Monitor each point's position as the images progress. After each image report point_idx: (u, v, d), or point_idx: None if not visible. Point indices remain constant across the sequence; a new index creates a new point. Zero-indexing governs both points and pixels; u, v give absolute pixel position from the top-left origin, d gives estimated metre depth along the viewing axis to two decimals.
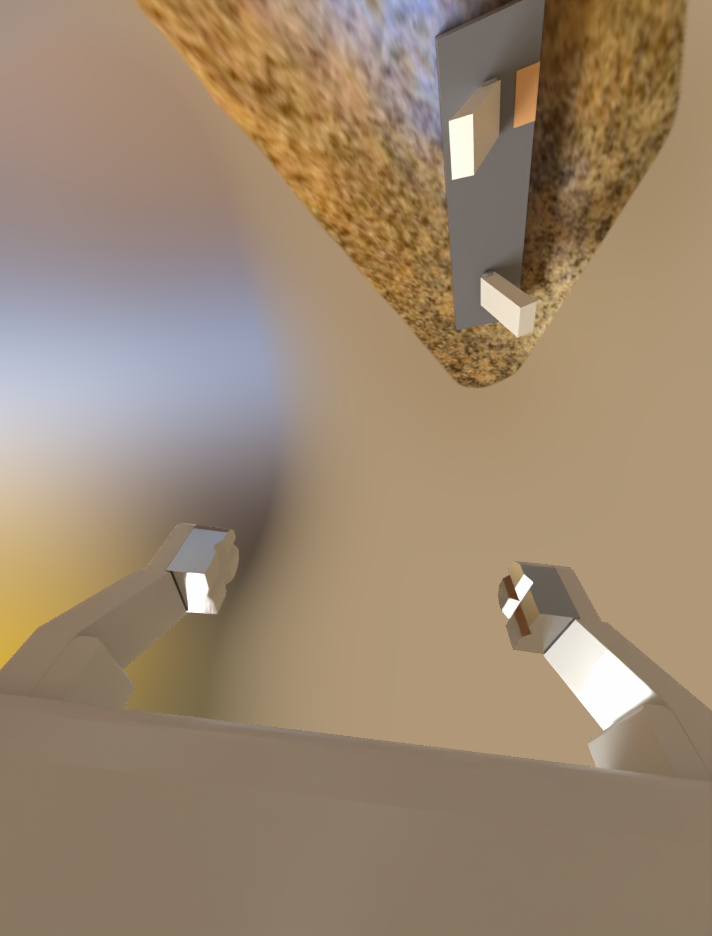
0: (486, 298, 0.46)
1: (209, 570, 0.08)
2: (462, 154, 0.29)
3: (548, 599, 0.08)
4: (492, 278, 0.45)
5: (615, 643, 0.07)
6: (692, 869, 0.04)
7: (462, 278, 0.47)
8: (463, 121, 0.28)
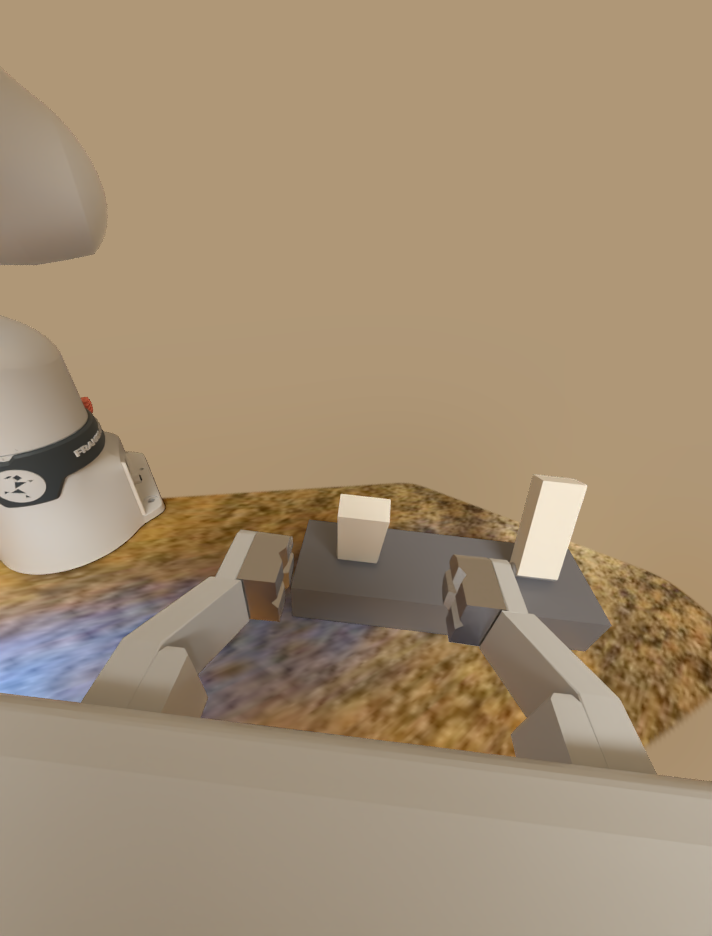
0: (544, 564, 0.32)
1: (277, 578, 0.08)
2: (369, 507, 0.26)
3: (478, 591, 0.08)
4: (516, 557, 0.33)
5: (537, 634, 0.07)
6: (692, 869, 0.04)
7: None
8: (343, 502, 0.26)
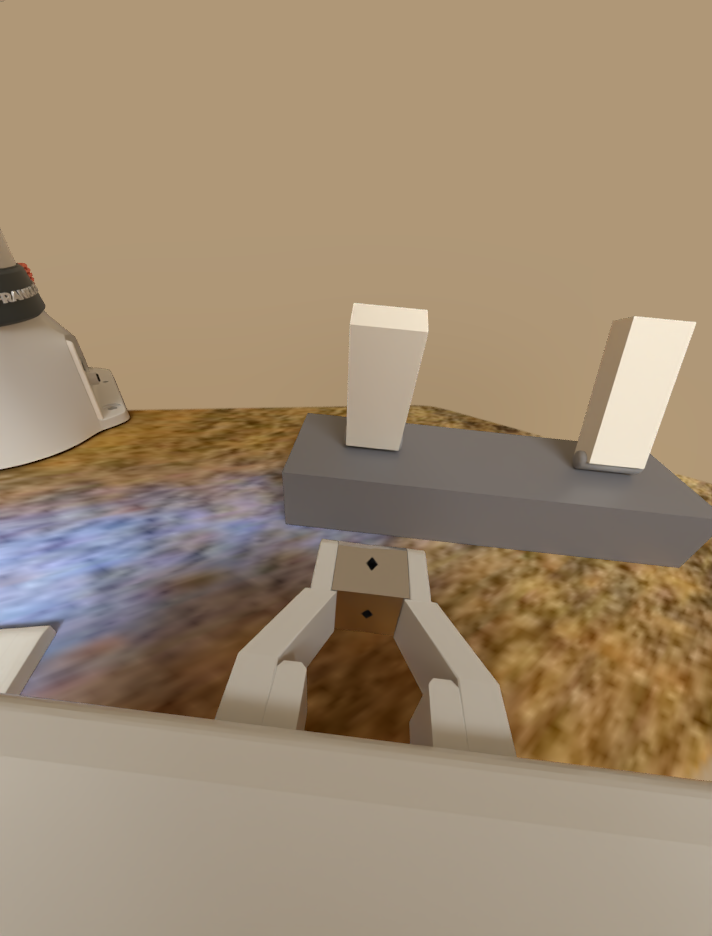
0: (627, 445, 0.24)
1: (370, 589, 0.08)
2: (397, 317, 0.17)
3: (385, 580, 0.08)
4: (587, 441, 0.25)
5: (433, 621, 0.07)
6: (692, 869, 0.04)
7: (598, 495, 0.23)
8: (357, 311, 0.17)
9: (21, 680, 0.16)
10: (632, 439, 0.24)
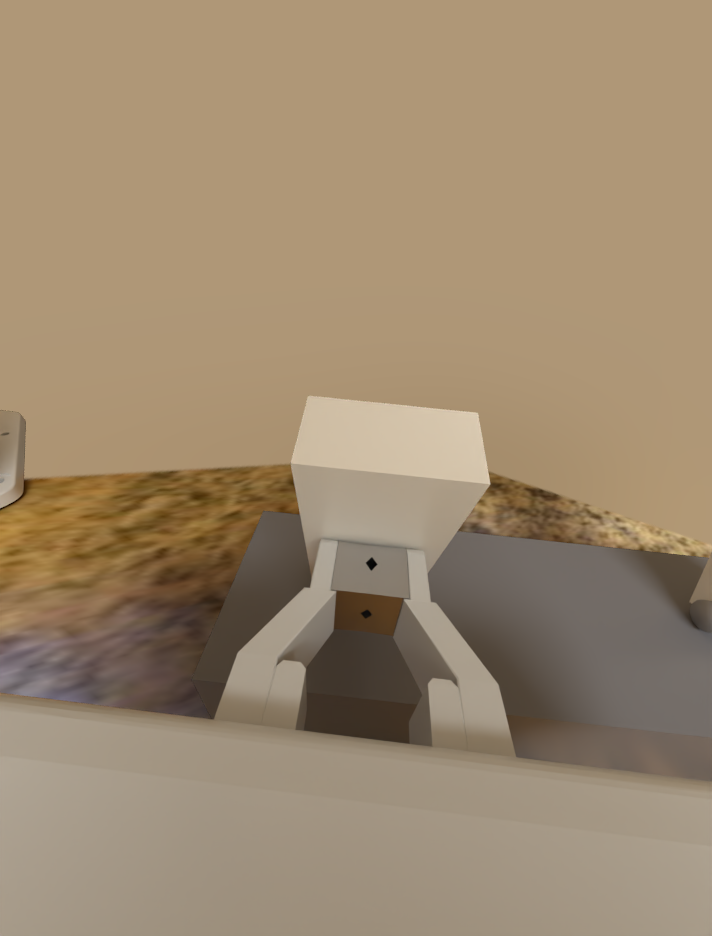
0: None
1: (369, 589, 0.08)
2: (409, 435, 0.07)
3: (385, 580, 0.08)
4: None
5: (433, 622, 0.07)
6: (692, 869, 0.04)
7: None
8: (314, 420, 0.07)
9: None
10: None
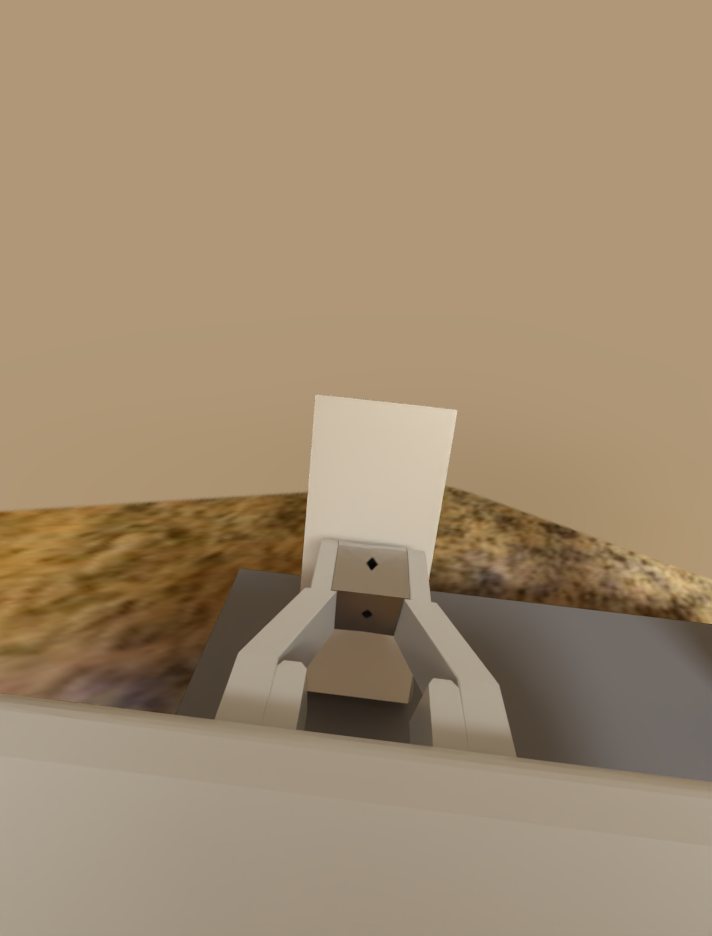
0: None
1: (370, 589, 0.08)
2: None
3: (385, 580, 0.08)
4: None
5: (433, 621, 0.07)
6: (692, 869, 0.04)
7: None
8: None
9: None
10: None
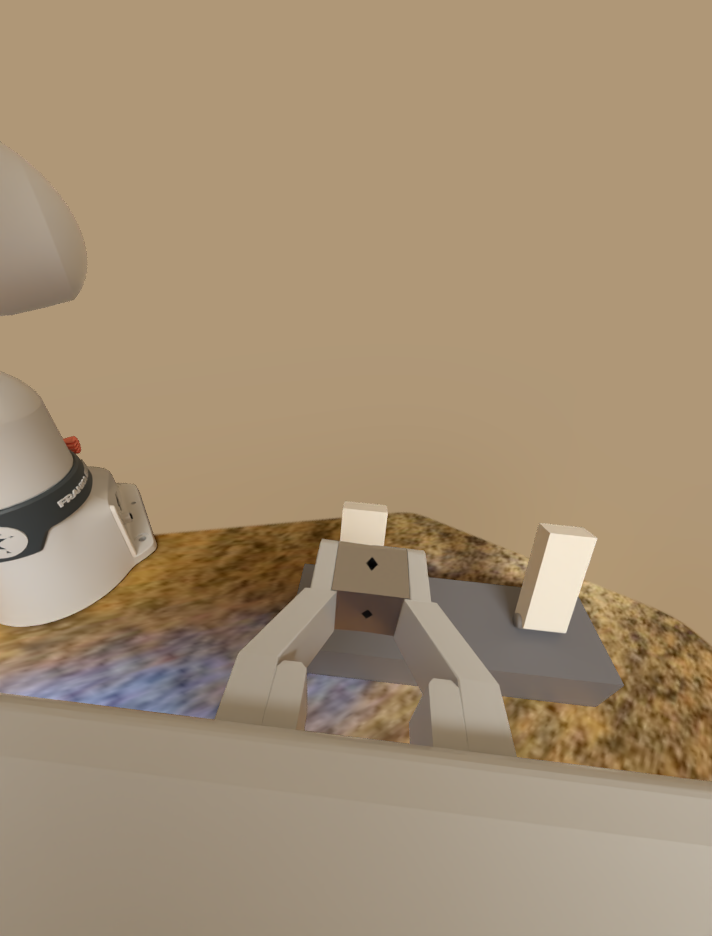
0: (552, 617, 0.31)
1: (370, 589, 0.08)
2: (369, 507, 0.30)
3: (385, 580, 0.08)
4: (522, 608, 0.32)
5: (433, 621, 0.07)
6: (692, 869, 0.04)
7: (528, 659, 0.30)
8: (347, 504, 0.31)
9: None
10: (555, 613, 0.31)
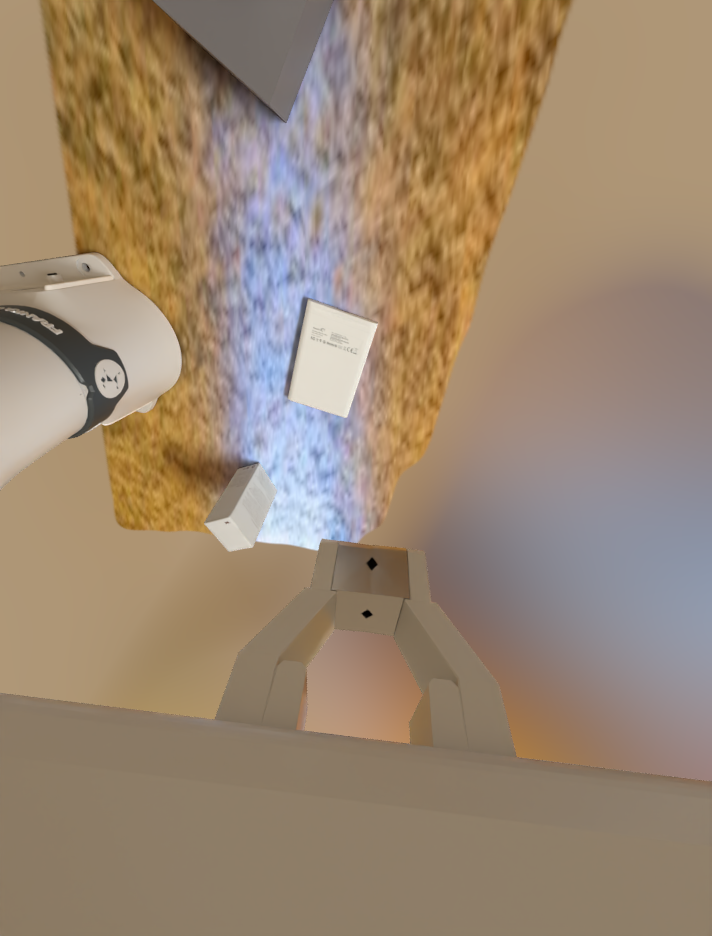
0: None
1: (370, 589, 0.08)
2: None
3: (385, 580, 0.08)
4: None
5: (434, 622, 0.07)
6: (692, 869, 0.04)
7: None
8: None
9: (330, 306, 0.37)
10: None
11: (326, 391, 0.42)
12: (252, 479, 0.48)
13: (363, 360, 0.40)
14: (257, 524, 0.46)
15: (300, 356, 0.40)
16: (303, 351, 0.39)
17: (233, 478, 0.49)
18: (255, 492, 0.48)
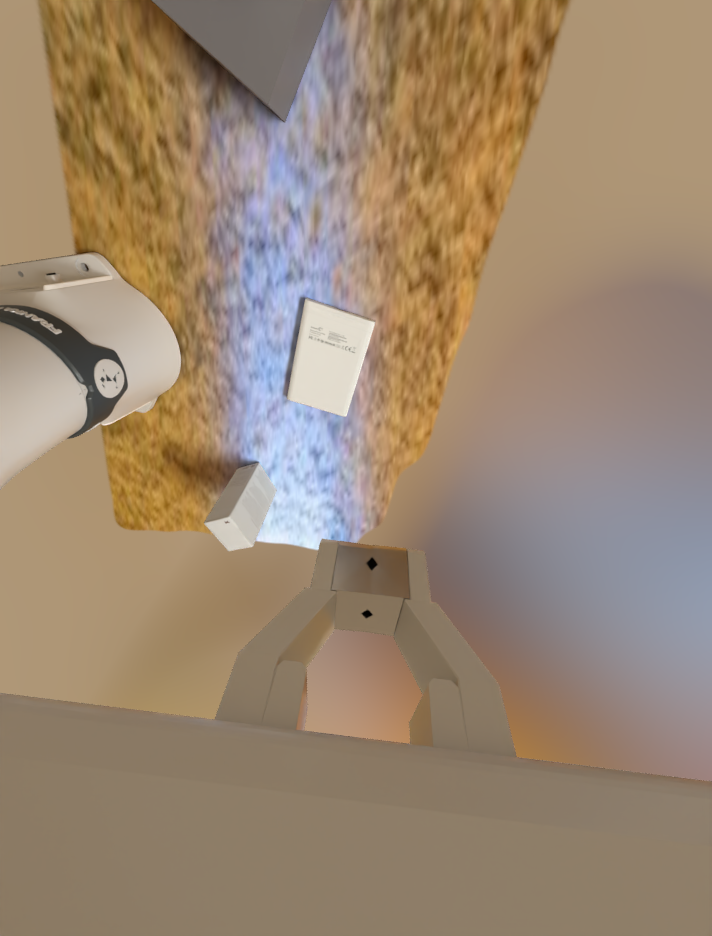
0: None
1: (370, 589, 0.08)
2: None
3: (385, 580, 0.08)
4: None
5: (434, 621, 0.07)
6: (692, 869, 0.04)
7: None
8: None
9: (327, 305, 0.37)
10: None
11: (325, 390, 0.42)
12: (252, 479, 0.48)
13: (361, 359, 0.40)
14: (257, 524, 0.46)
15: (298, 356, 0.40)
16: (301, 351, 0.39)
17: (233, 478, 0.50)
18: (254, 491, 0.48)
